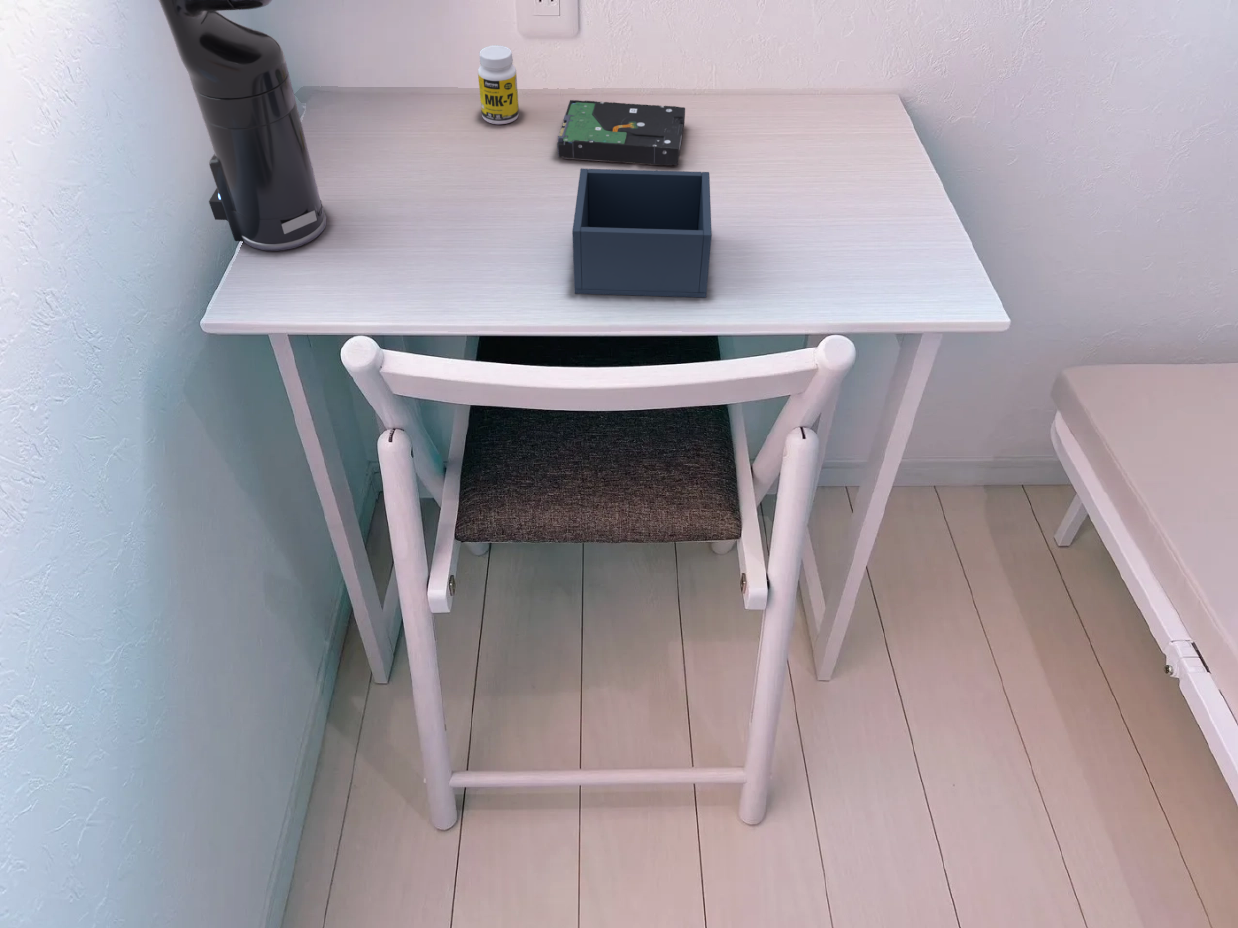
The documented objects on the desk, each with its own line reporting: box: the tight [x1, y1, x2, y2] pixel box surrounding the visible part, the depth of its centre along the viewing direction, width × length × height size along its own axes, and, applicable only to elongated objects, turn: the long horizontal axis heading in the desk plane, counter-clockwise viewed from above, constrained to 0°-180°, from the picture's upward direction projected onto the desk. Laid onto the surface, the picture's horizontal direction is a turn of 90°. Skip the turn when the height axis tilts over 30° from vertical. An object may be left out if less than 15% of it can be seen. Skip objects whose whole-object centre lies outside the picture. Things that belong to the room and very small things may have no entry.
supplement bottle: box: [477, 44, 520, 125], centre depth 123 cm, size 5×5×8 cm
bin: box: [572, 168, 713, 298], centre depth 102 cm, size 14×12×8 cm
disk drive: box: [556, 99, 686, 166], centre depth 121 cm, size 10×3×15 cm
